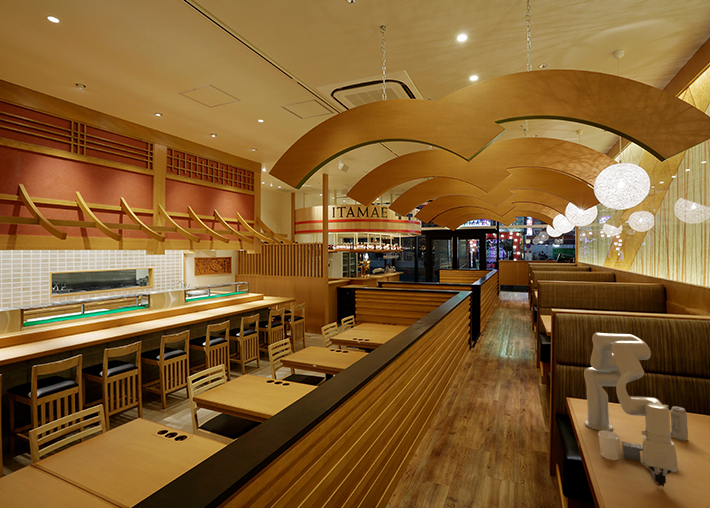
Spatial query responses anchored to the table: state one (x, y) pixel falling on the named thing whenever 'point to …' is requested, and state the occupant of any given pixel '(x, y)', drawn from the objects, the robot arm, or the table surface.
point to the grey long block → (631, 451)
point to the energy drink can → (679, 423)
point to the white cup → (609, 444)
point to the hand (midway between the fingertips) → (660, 483)
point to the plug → (653, 473)
